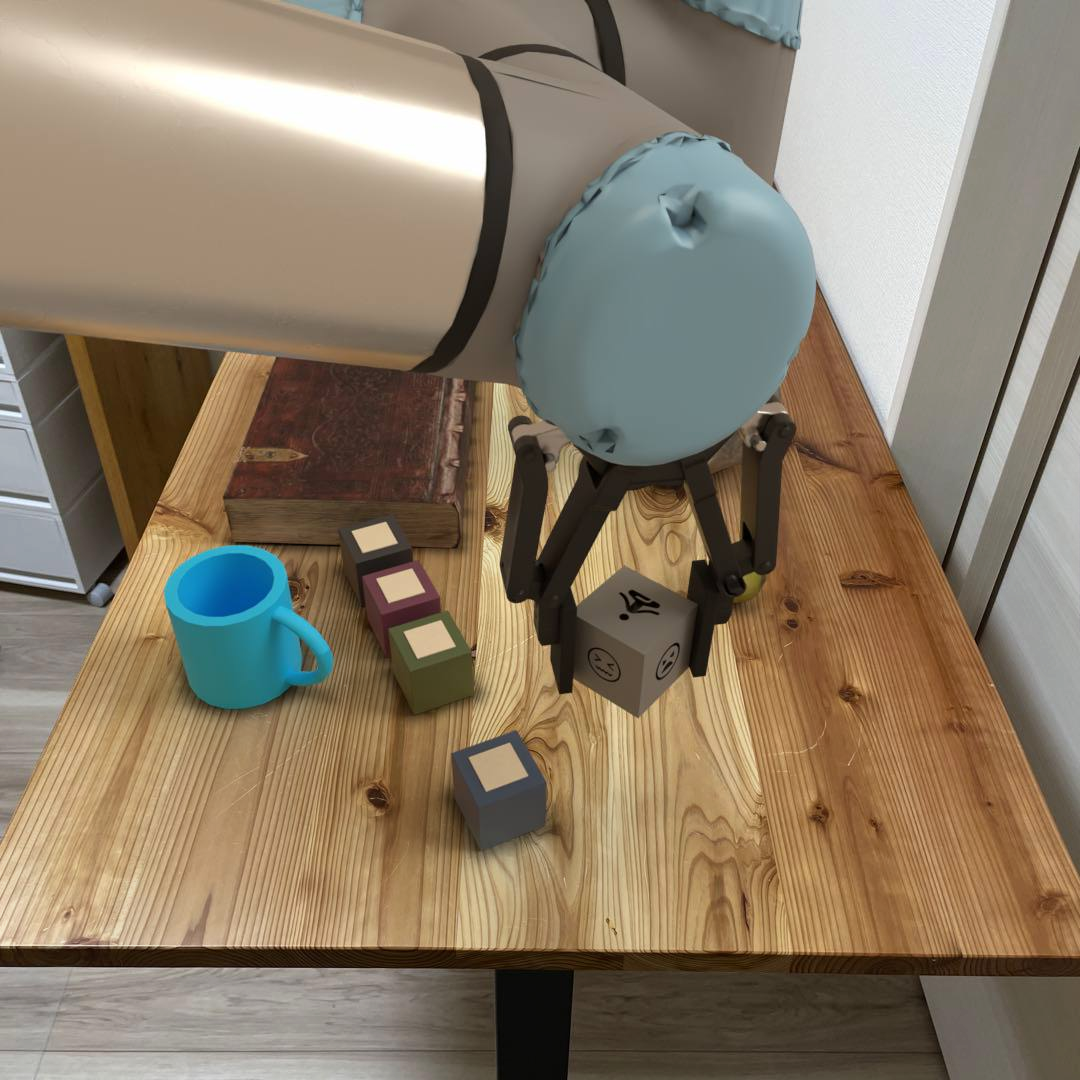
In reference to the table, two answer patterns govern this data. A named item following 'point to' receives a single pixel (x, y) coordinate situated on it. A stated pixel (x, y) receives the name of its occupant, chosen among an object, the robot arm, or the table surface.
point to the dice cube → (632, 640)
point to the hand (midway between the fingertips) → (627, 667)
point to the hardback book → (352, 455)
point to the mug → (240, 628)
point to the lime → (751, 587)
